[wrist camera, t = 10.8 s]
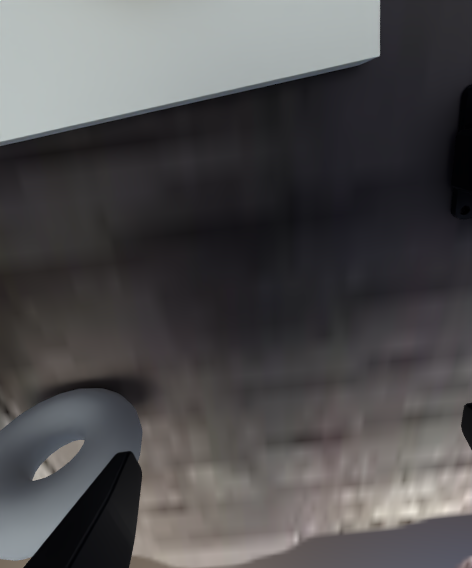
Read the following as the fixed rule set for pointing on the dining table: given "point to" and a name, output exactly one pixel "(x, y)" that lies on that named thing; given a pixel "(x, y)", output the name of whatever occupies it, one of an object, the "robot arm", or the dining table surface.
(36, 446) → the donut
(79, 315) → the dining table surface
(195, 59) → the white board
